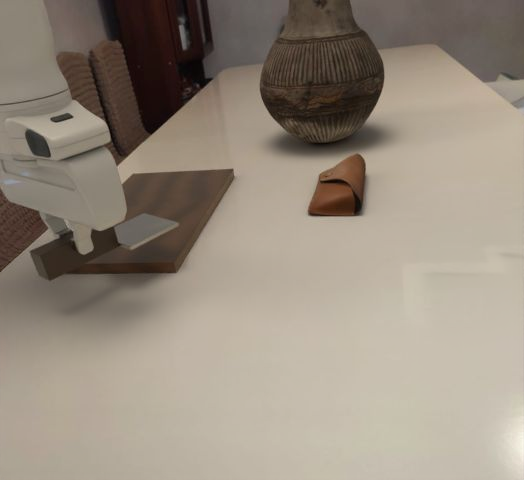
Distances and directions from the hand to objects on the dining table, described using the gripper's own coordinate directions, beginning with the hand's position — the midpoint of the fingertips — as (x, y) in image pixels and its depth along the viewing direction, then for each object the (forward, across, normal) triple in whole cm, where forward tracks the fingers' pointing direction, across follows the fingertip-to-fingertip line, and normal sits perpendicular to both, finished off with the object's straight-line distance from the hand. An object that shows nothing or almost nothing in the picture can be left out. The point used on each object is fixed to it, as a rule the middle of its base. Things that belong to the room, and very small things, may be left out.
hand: (75, 248), depth 63 cm
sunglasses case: (+7, +9, +43) cm, 44 cm away
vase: (+7, -11, +67) cm, 68 cm away
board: (+7, -14, +21) cm, 26 cm away
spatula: (+2, 0, +4) cm, 4 cm away
